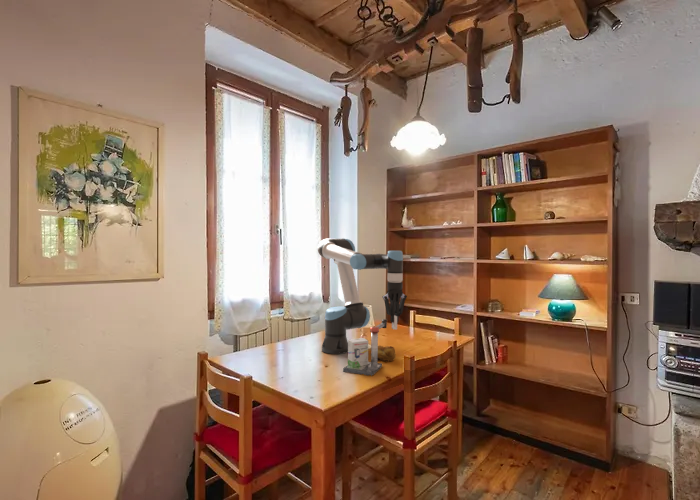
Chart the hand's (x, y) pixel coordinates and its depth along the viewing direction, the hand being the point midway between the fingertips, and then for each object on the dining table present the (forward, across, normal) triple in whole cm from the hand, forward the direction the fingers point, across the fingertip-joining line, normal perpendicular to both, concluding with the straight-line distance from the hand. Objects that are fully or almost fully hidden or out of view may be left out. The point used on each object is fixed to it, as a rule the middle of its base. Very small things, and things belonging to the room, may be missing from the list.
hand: (394, 328), depth 186 cm
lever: (-1, +11, +4) cm, 11 cm away
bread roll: (+17, +3, -5) cm, 18 cm away
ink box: (+15, +21, +3) cm, 26 cm away
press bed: (+16, +19, +5) cm, 26 cm away
